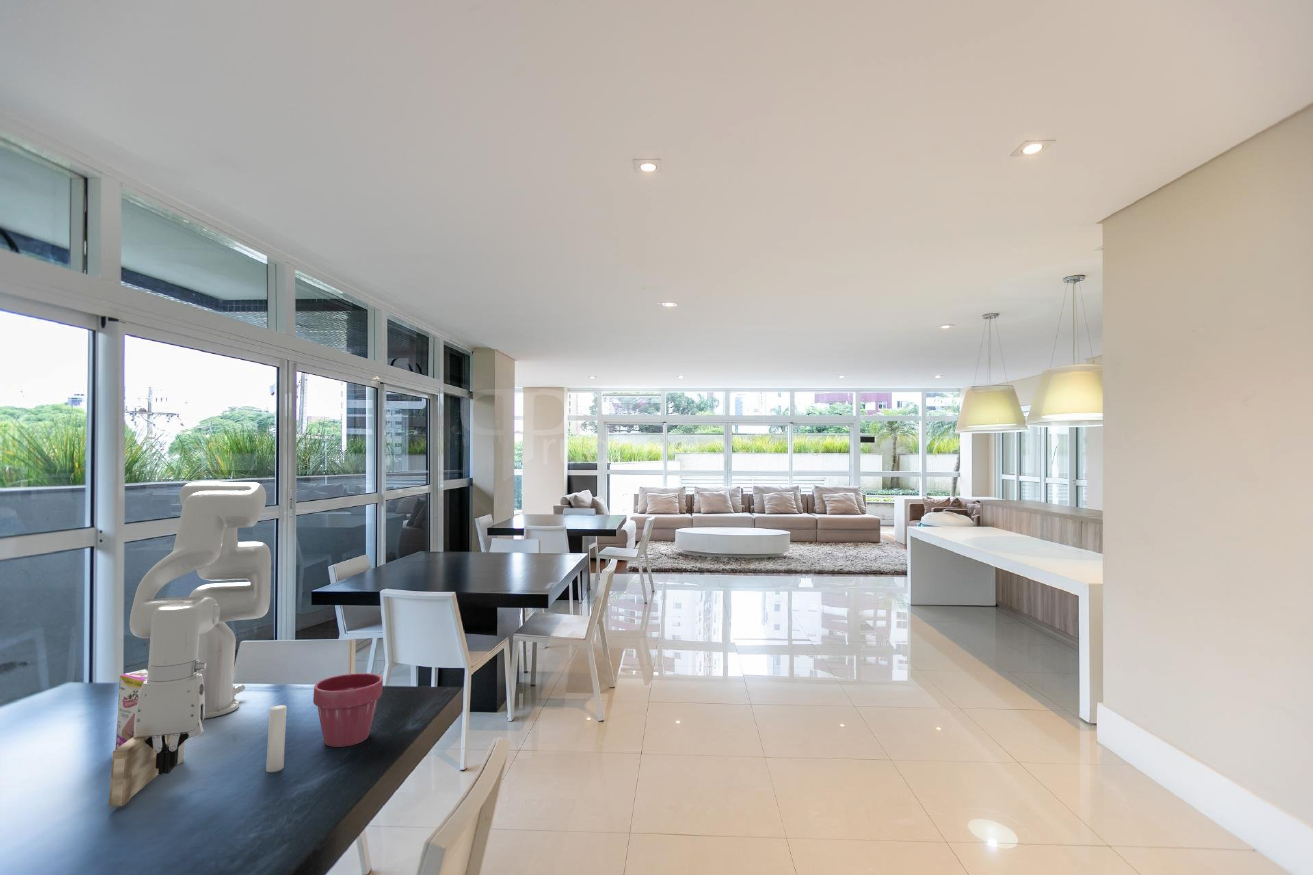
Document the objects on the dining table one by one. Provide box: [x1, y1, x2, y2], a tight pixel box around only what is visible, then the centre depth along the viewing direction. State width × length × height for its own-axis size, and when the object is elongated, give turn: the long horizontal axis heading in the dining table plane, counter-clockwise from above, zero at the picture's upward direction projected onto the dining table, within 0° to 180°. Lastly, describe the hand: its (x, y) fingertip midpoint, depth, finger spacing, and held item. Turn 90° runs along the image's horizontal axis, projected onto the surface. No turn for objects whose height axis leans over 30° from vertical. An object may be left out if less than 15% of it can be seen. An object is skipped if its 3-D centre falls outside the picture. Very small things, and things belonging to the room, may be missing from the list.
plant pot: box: [312, 672, 384, 748], centre depth 145 cm, size 14×14×13 cm
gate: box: [108, 734, 172, 808], centre depth 121 cm, size 18×2×9 cm, turn 14°
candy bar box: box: [114, 668, 148, 750], centre depth 136 cm, size 11×5×16 cm, turn 65°
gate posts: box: [176, 705, 288, 773], centre depth 130 cm, size 4×26×12 cm, turn 84°
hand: (166, 770), depth 119 cm, fingers closed
